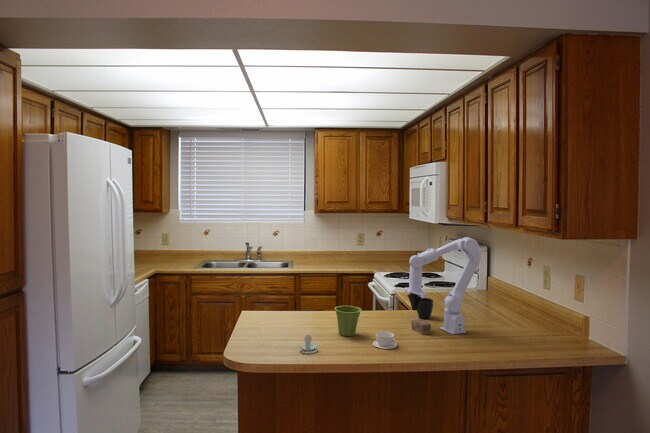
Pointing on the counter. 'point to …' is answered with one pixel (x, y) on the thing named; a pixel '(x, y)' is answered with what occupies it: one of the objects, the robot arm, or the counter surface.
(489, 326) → the counter surface
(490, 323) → the counter surface
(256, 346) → the counter surface
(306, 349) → the pacifier
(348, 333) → the plant pot
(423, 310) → the mug
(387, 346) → the teacup
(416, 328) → the walnut block
